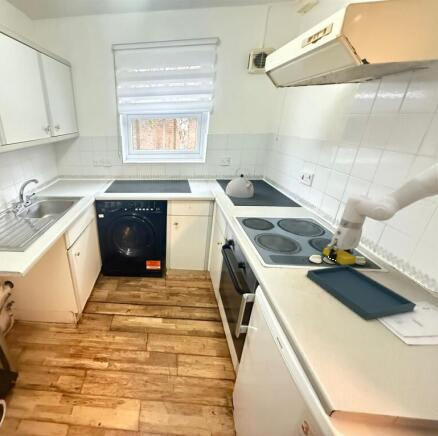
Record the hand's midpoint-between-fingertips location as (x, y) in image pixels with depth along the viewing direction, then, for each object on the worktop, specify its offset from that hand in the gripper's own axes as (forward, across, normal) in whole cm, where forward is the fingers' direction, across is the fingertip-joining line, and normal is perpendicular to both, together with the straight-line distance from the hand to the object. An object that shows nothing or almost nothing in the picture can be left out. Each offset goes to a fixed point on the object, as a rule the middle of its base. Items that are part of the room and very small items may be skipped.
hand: (337, 259), depth 108 cm
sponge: (0, 0, 0) cm, 0 cm away
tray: (0, -14, -19) cm, 24 cm away
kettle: (+1, +13, +102) cm, 103 cm away
